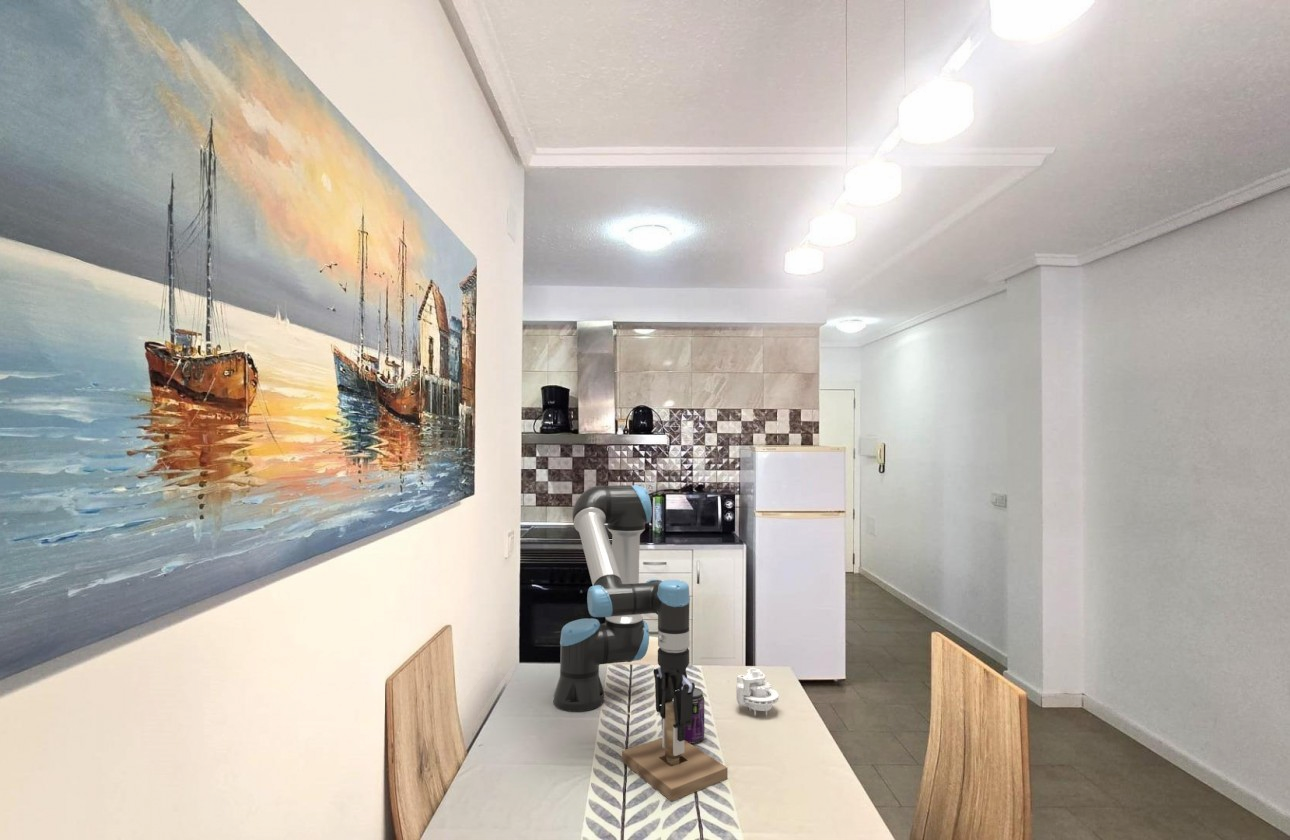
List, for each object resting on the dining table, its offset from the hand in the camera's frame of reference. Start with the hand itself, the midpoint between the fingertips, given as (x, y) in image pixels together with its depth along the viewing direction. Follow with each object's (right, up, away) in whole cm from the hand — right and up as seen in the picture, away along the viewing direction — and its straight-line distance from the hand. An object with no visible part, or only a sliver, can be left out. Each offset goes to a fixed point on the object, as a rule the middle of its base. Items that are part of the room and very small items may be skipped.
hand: (673, 749), depth 138 cm
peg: (0, -4, 0) cm, 4 cm away
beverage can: (+5, -6, +15) cm, 17 cm away
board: (0, -5, 0) cm, 5 cm away
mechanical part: (+26, -7, +32) cm, 42 cm away
